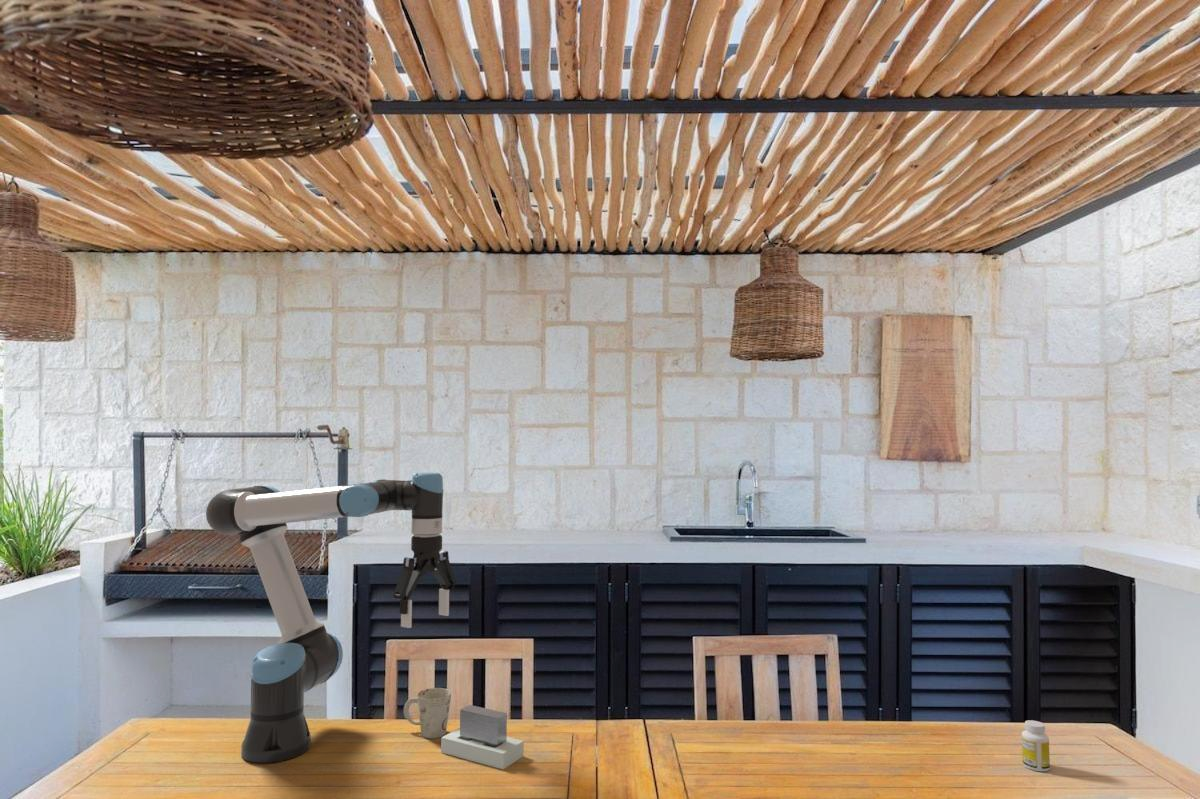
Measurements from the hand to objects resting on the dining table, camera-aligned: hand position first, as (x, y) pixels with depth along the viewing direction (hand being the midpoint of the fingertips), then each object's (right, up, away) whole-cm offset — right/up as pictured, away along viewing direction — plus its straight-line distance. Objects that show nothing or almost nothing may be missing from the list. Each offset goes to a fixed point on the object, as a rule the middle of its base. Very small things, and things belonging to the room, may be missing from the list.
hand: (425, 621), depth 186 cm
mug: (0, -29, +2) cm, 29 cm away
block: (+16, -28, -10) cm, 34 cm away
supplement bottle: (+143, -29, -15) cm, 147 cm away
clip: (+16, -28, -10) cm, 34 cm away
